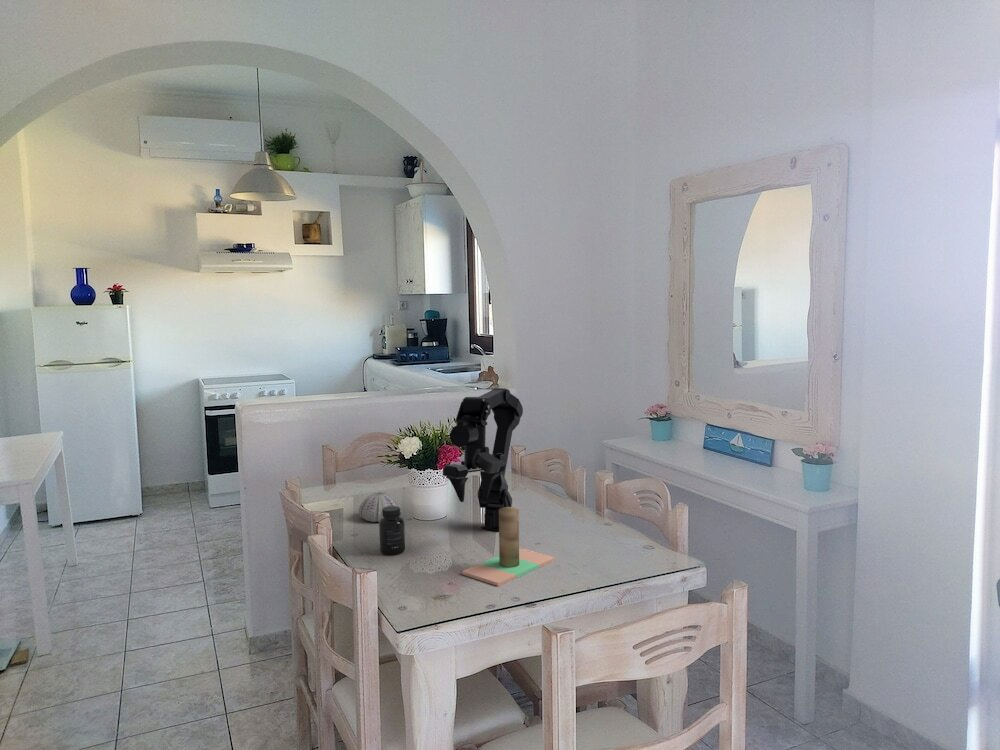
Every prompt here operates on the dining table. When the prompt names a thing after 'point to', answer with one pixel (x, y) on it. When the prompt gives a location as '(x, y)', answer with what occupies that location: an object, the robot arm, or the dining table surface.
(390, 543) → the supplement bottle
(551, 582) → the dining table surface
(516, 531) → the walnut peg
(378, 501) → the sea urchin shell
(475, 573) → the board
